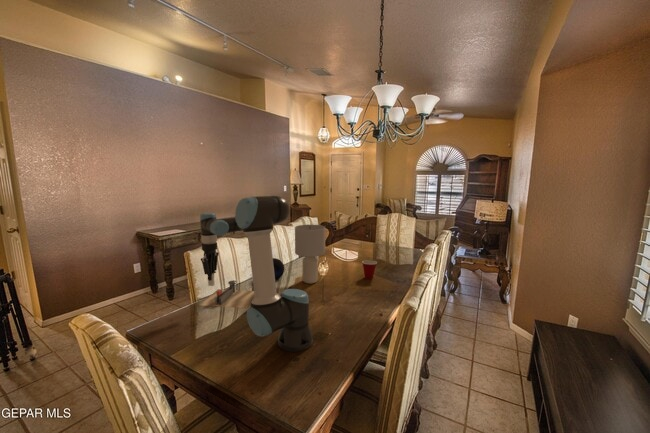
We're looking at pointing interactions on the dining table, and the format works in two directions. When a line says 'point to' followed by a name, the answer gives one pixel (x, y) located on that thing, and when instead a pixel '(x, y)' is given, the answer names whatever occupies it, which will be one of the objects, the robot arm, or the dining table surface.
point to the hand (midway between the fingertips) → (211, 285)
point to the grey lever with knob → (227, 293)
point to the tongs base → (222, 294)
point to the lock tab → (219, 292)
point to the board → (231, 299)
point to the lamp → (310, 249)
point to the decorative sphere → (278, 268)
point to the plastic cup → (369, 268)
